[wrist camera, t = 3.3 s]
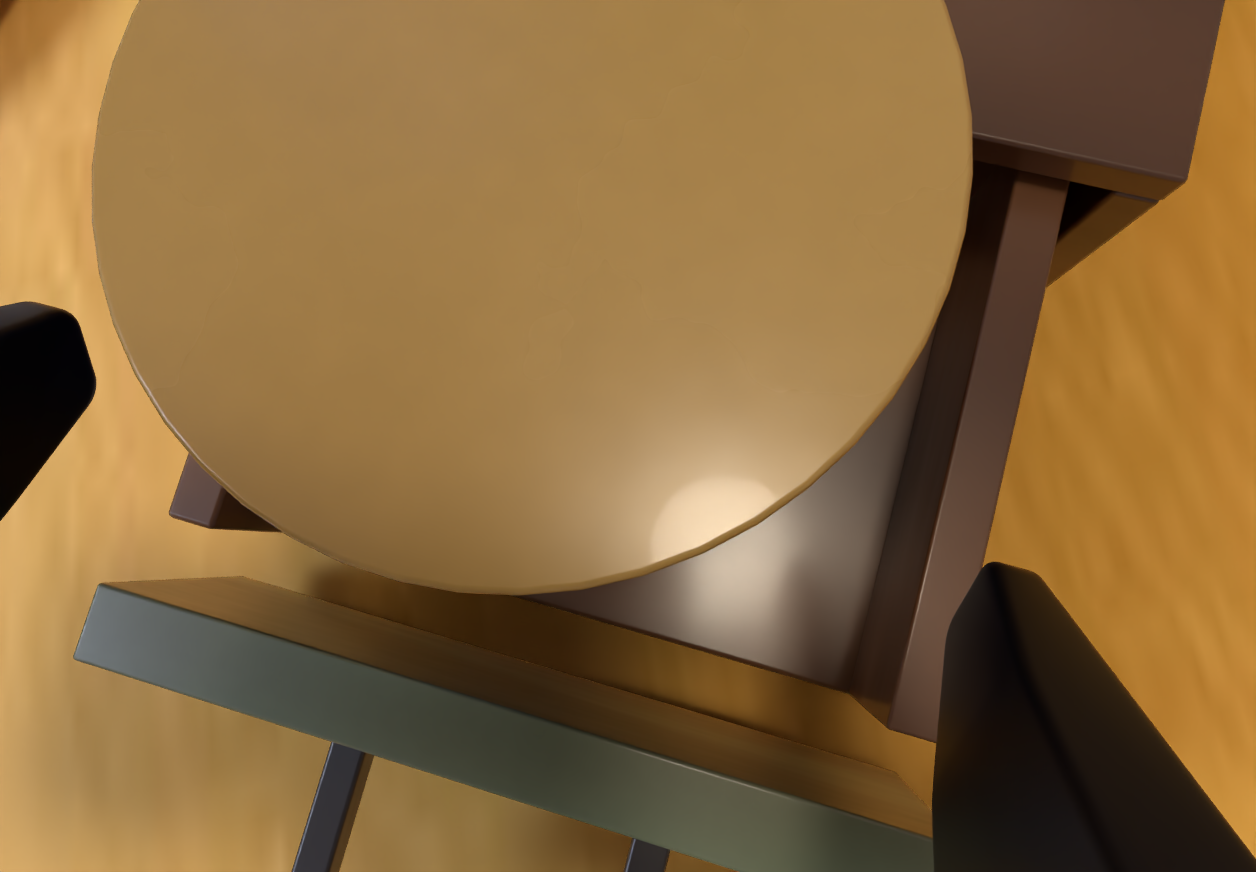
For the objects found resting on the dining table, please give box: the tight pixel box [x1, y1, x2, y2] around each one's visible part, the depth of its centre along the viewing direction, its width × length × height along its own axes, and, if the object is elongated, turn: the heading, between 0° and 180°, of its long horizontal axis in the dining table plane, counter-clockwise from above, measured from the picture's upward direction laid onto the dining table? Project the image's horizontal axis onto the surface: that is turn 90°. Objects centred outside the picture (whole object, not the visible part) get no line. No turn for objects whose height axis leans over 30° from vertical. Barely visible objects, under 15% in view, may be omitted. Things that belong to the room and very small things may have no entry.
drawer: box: [73, 160, 1070, 872], centre depth 15 cm, size 17×13×4 cm
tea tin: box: [92, 0, 973, 595], centre depth 11 cm, size 6×6×10 cm
